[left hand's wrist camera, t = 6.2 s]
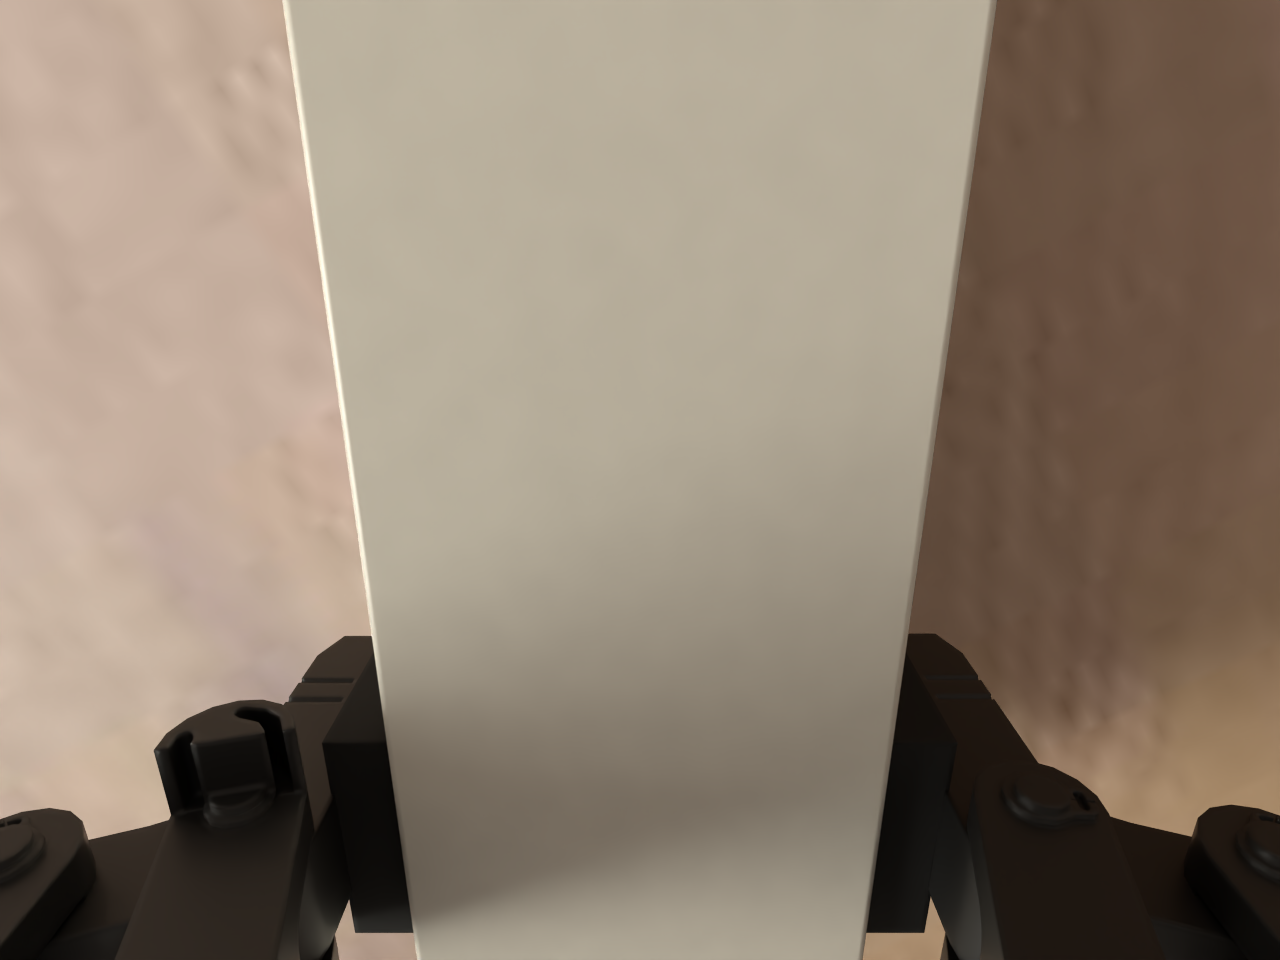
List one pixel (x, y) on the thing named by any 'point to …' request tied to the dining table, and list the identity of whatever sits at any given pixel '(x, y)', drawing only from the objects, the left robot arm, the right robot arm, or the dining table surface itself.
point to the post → (639, 442)
